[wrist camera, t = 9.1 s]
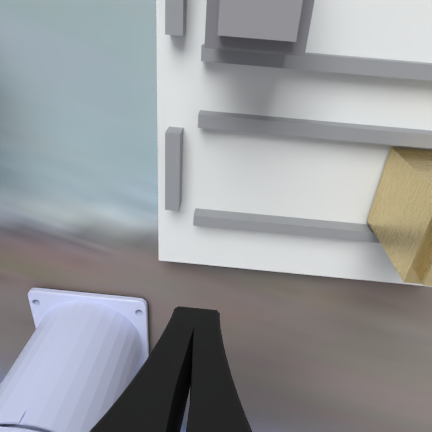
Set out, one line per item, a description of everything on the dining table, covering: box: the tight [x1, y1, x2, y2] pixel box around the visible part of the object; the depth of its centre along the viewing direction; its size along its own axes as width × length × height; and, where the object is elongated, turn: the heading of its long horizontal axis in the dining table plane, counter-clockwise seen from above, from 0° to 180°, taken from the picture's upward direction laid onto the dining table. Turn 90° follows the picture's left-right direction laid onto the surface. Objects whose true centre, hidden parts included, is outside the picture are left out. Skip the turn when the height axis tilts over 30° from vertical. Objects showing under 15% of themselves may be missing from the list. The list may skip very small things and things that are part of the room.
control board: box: [156, 0, 432, 287], centre depth 16 cm, size 22×16×2 cm
